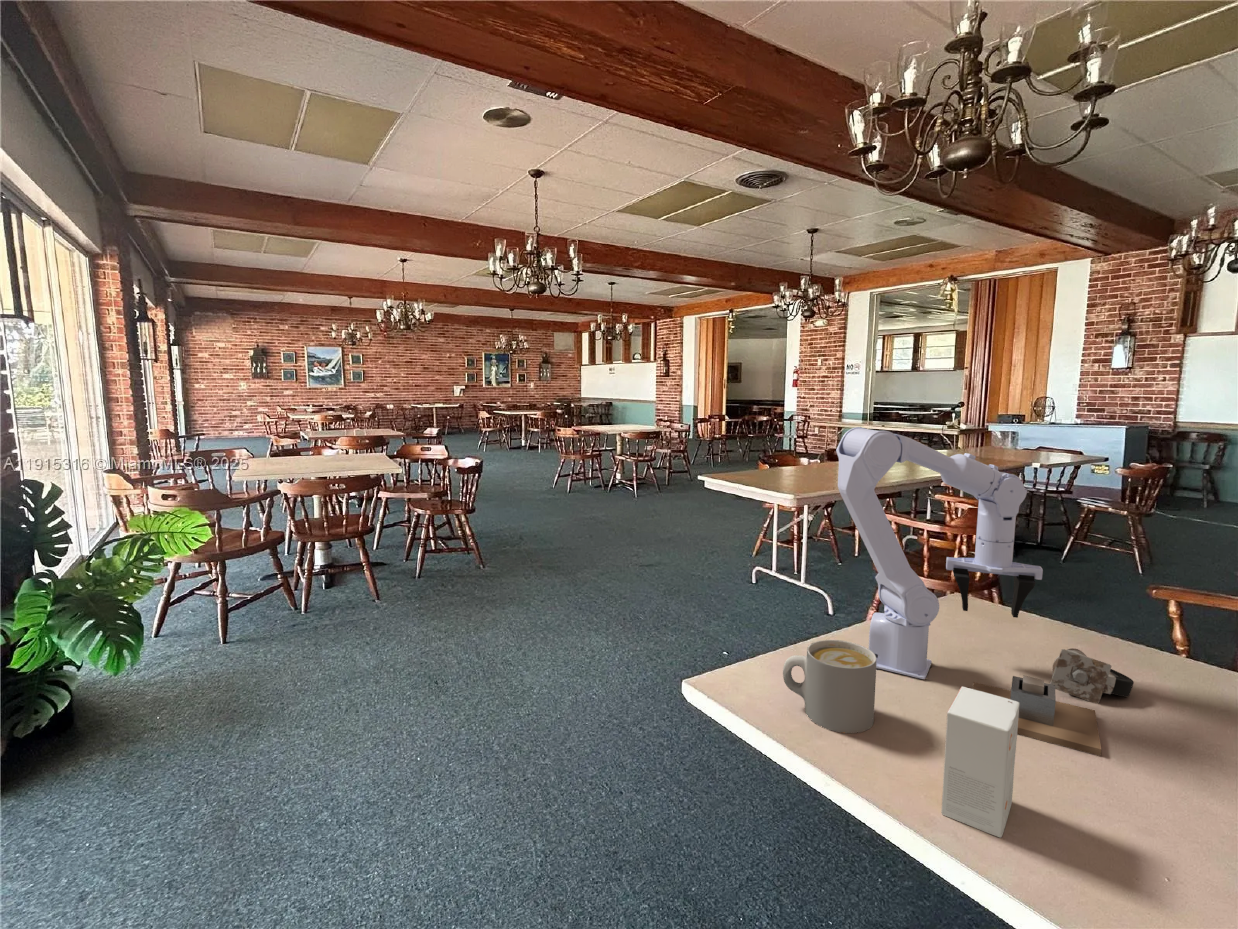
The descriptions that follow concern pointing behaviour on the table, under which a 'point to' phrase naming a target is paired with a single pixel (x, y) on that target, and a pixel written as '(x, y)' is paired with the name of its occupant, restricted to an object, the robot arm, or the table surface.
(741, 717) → the table surface
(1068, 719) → the post board
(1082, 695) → the caster wheel
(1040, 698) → the square hub
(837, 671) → the coffee mug
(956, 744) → the small box
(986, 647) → the table surface
